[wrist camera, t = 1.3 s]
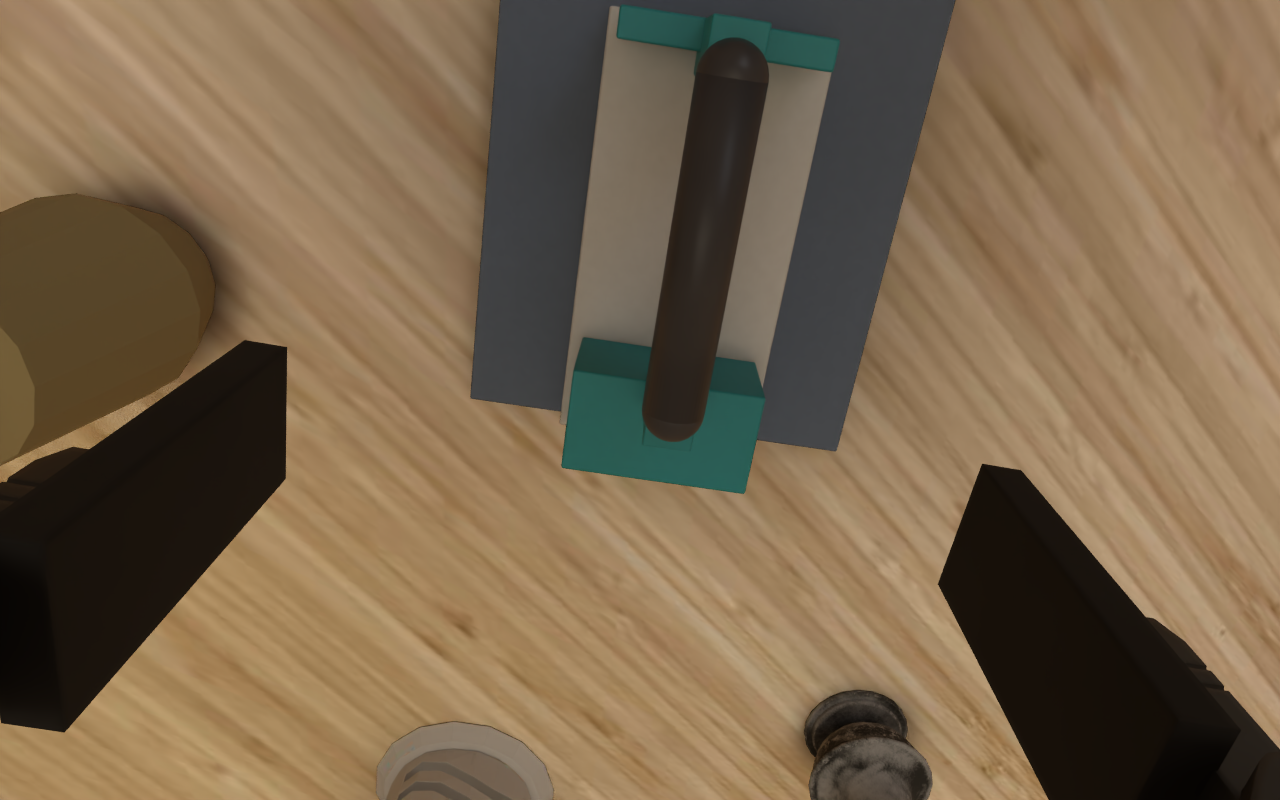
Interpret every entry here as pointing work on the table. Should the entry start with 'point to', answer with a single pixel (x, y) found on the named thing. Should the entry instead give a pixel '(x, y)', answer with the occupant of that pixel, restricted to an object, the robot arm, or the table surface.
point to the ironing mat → (829, 221)
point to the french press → (461, 766)
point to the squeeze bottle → (91, 313)
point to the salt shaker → (863, 751)
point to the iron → (688, 241)
